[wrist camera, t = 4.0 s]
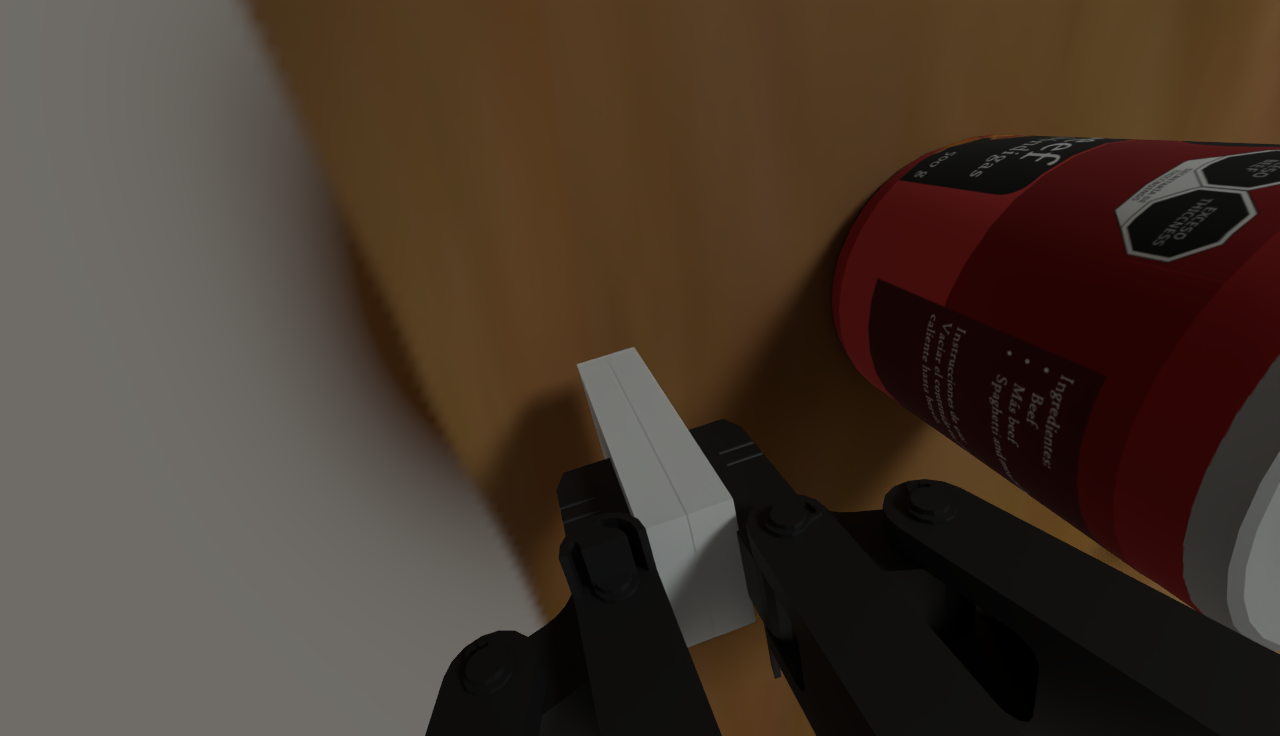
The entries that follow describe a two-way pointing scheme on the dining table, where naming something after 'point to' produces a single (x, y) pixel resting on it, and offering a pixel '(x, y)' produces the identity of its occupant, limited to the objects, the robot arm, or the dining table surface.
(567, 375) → the dining table surface
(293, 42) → the dining table surface
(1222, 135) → the dining table surface
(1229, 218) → the canned food
